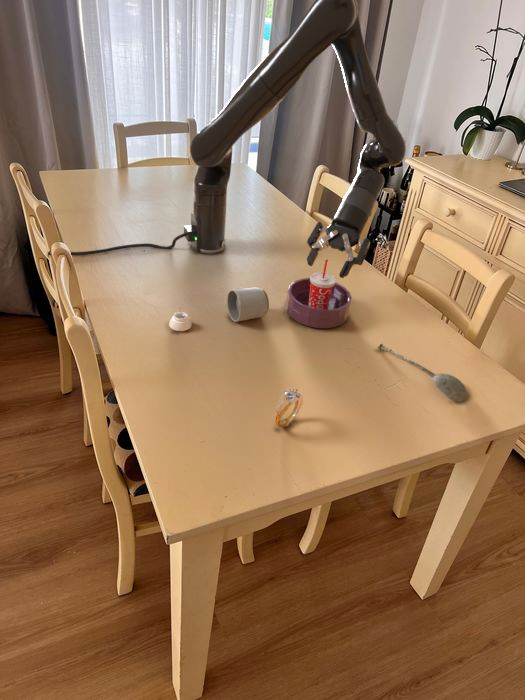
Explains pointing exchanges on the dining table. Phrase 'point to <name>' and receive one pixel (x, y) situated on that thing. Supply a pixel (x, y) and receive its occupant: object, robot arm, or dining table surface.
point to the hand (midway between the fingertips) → (325, 270)
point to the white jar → (180, 322)
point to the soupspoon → (439, 380)
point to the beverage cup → (321, 289)
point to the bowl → (314, 316)
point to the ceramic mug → (247, 303)
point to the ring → (289, 396)
